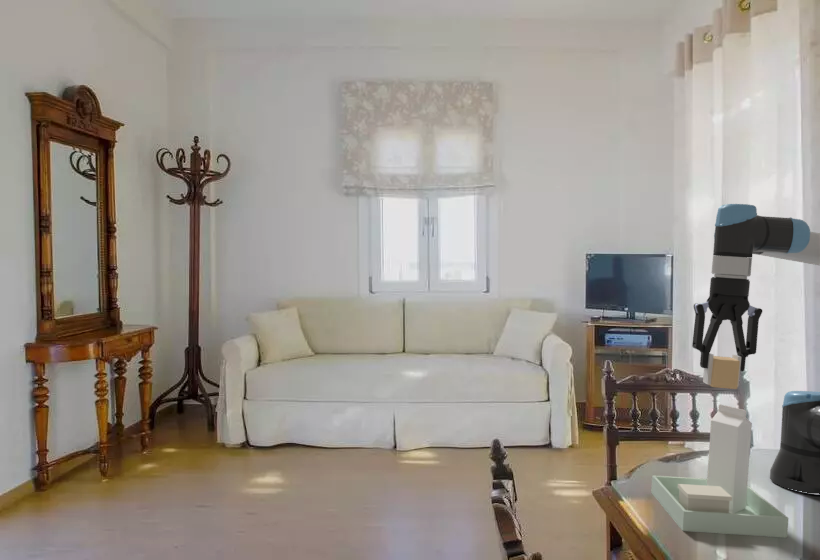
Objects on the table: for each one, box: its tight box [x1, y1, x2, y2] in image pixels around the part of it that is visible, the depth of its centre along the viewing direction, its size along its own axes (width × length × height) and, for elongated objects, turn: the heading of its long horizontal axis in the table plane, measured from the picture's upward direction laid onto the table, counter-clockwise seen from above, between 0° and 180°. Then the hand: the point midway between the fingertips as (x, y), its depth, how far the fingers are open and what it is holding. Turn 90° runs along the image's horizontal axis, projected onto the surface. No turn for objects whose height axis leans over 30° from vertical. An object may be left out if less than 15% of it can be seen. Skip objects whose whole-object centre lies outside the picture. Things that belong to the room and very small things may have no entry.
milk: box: [706, 404, 753, 513], centre depth 139 cm, size 6×6×22 cm
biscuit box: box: [709, 355, 740, 390], centre depth 138 cm, size 5×5×6 cm
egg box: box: [678, 484, 732, 513], centre depth 131 cm, size 9×6×7 cm, turn 86°
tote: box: [650, 474, 789, 539], centre depth 136 cm, size 20×20×4 cm
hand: (720, 384), depth 138 cm, fingers closed on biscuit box, 5 cm apart
